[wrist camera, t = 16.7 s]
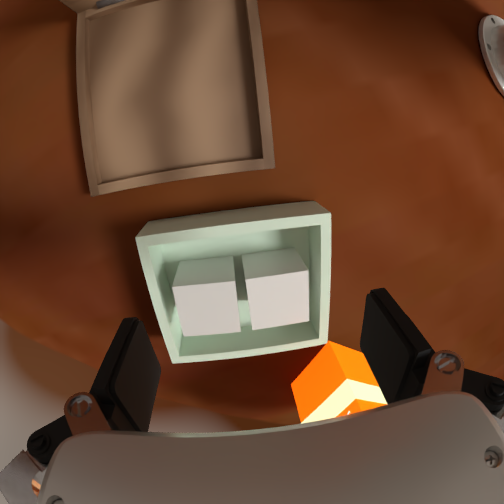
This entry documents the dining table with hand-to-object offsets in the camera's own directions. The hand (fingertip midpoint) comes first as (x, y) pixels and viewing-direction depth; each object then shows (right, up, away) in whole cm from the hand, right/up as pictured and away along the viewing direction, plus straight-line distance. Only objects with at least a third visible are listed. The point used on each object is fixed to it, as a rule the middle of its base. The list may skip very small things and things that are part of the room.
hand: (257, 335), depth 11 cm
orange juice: (+10, -11, +21) cm, 26 cm away
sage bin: (-1, +1, +14) cm, 15 cm away
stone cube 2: (-4, +1, +14) cm, 14 cm away
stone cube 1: (+1, +1, +14) cm, 14 cm away
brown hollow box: (-7, +17, +8) cm, 20 cm away
